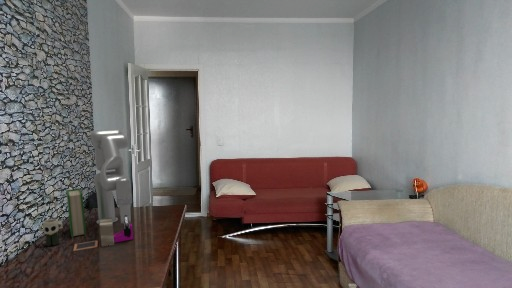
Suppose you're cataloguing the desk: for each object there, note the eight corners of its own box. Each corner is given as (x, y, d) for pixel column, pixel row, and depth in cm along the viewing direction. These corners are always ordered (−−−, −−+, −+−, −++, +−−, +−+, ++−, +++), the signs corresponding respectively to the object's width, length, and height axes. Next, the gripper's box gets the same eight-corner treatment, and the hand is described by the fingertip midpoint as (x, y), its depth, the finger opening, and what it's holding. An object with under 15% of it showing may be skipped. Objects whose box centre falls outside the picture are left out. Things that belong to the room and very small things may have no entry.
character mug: (39, 248, 185) (37, 224, 184) (42, 244, 192) (39, 220, 190) (63, 244, 189) (61, 220, 188) (65, 240, 195) (62, 217, 194)
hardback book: (86, 235, 203) (82, 193, 201) (71, 237, 200) (67, 195, 198) (83, 227, 219) (80, 188, 217) (70, 229, 215) (66, 190, 213)
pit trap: (74, 244, 188) (74, 244, 188) (97, 241, 192) (97, 240, 192) (73, 251, 179) (73, 250, 179) (97, 247, 183) (97, 246, 183)
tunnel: (101, 239, 194) (100, 219, 193) (113, 237, 196) (112, 217, 195) (101, 247, 183) (99, 225, 182) (114, 244, 185) (112, 223, 184)
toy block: (132, 235, 197) (131, 222, 197) (133, 239, 192) (132, 225, 191) (102, 240, 191) (101, 226, 191) (102, 244, 186) (101, 230, 185)
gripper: (116, 198, 198) (119, 230, 200) (117, 205, 182) (120, 239, 184) (130, 196, 201) (133, 227, 203) (133, 203, 185) (135, 237, 187)
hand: (127, 233), depth 193 cm, fingers closed on toy block, 6 cm apart
